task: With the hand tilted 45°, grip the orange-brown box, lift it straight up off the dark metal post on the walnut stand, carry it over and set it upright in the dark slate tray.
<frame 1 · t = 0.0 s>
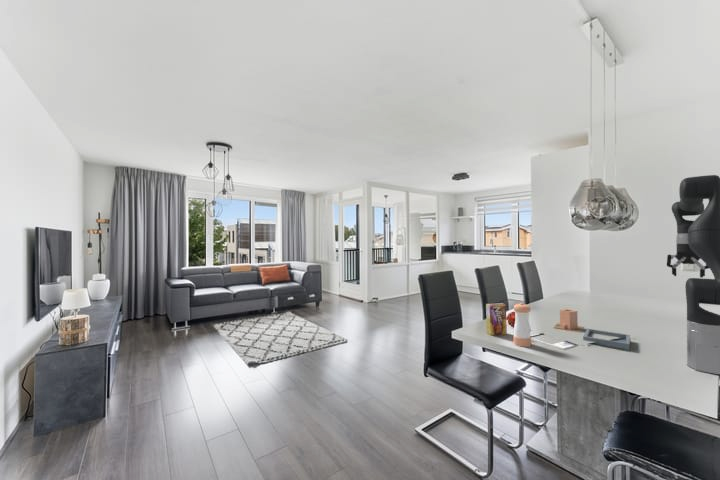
hand: (688, 276, 145), 29 cm above the table, tool pointing down, fingers open, 8 cm apart
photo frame: (553, 342, 144), on the table
post stand: (568, 330, 159), on the table
pepper shaker: (522, 344, 140), on the table
dragon fruit: (516, 326, 168), on the table
tray: (606, 342, 141), on the table
candy box: (496, 334, 156), on the table
orange-brown box: (568, 327, 159), point 1 cm above the table, touching post stand
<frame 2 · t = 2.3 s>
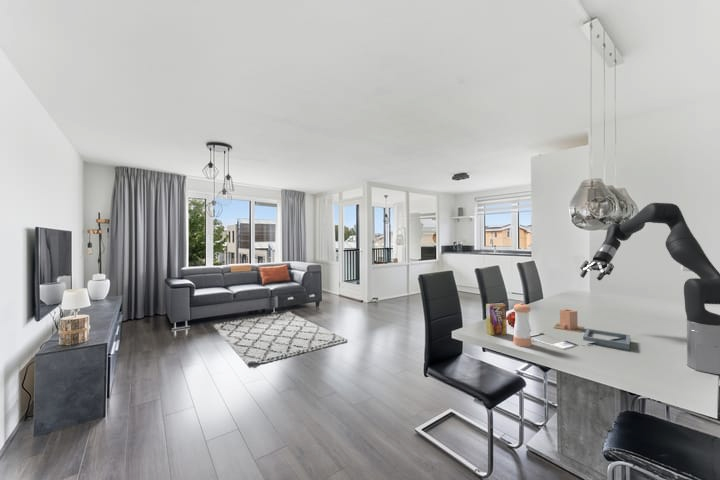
hand: (589, 278, 162), 27 cm above the table, tool tilted 40°, fingers open, 8 cm apart
nothing on the table moved.
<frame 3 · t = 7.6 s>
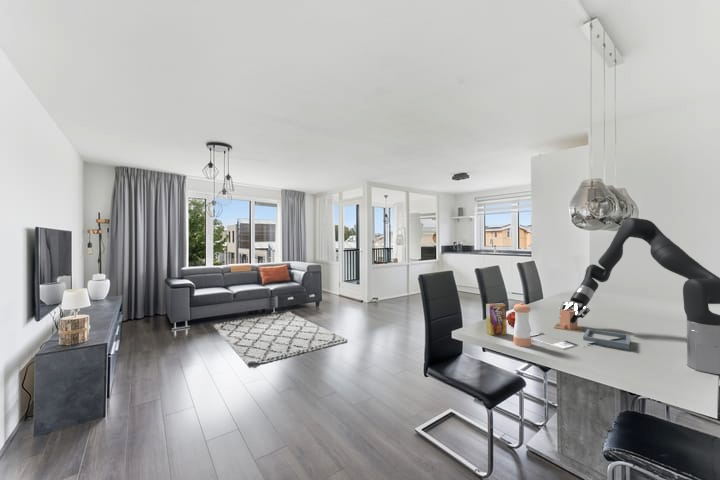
hand: (566, 320, 159), 5 cm above the table, tool tilted 45°, fingers closed on orange-brown box, 5 cm apart
orange-brown box: (568, 327, 159), point 2 cm above the table, touching gripper, post stand
everything else where it was.
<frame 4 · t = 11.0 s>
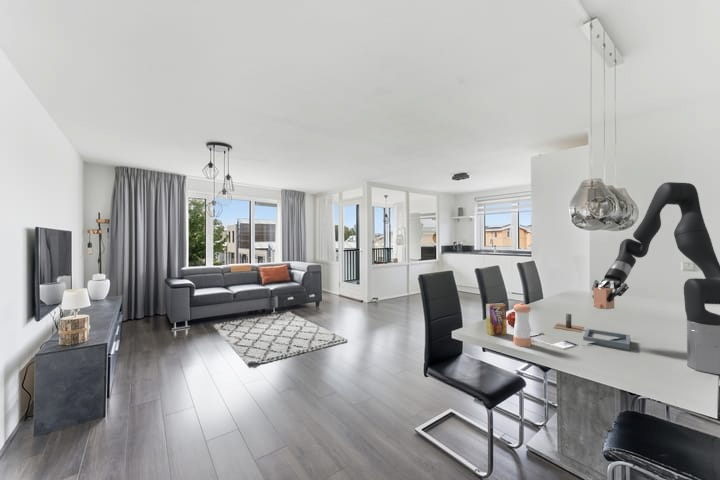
hand: (601, 299, 141), 20 cm above the table, tool tilted 45°, fingers closed on orange-brown box, 5 cm apart
orange-brown box: (604, 307, 142), point 16 cm above the table, touching gripper
everything else where it was.
when the fingers open (6 cm above the table, at t = 14.4 s): orange-brown box drops 1 cm, resting on tray.
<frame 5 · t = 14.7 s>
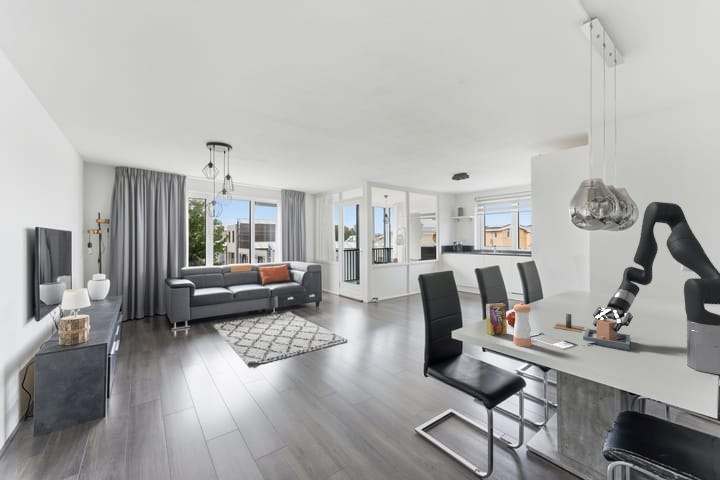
hand: (604, 328, 141), 7 cm above the table, tool tilted 45°, fingers open, 8 cm apart
orange-brown box: (606, 340, 141), point 1 cm above the table, touching tray
everything else where it was.
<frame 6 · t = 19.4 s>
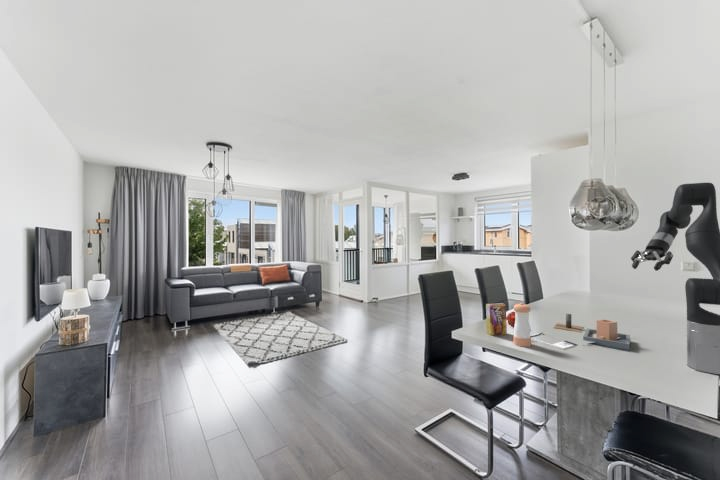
hand: (644, 268, 144), 34 cm above the table, tool tilted 45°, fingers open, 8 cm apart
nothing on the table moved.
at the end: orange-brown box inside the target area on the tray (0.1 cm from its centre), point 0.8 cm above the tray's base; orange-brown box tilted 0°; the gripper is holding nothing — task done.
